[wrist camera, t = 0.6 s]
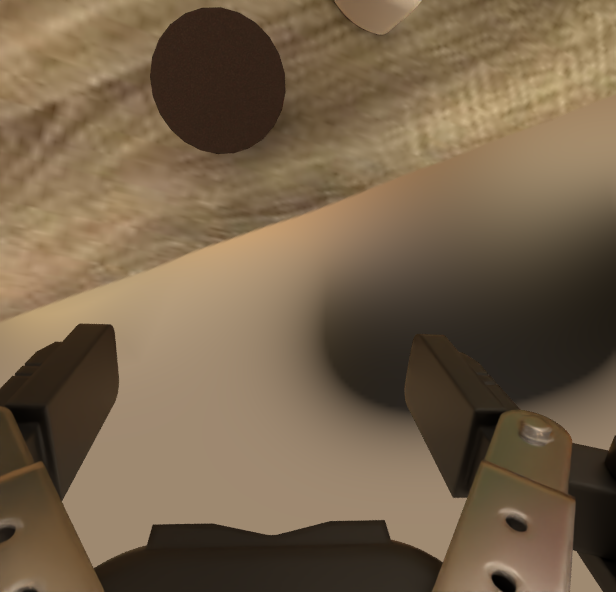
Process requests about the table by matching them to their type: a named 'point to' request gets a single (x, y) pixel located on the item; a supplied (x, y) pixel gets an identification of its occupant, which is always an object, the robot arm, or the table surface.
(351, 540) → the robot arm
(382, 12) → the eye dropper bottle
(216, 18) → the deodorant
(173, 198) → the table surface
